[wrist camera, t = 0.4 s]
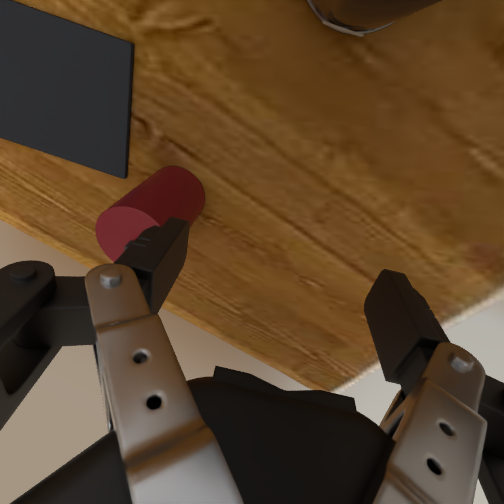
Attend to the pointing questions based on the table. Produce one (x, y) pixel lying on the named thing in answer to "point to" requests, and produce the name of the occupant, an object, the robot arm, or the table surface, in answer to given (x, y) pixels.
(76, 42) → the mat
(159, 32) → the table surface
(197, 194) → the candle
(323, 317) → the table surface
